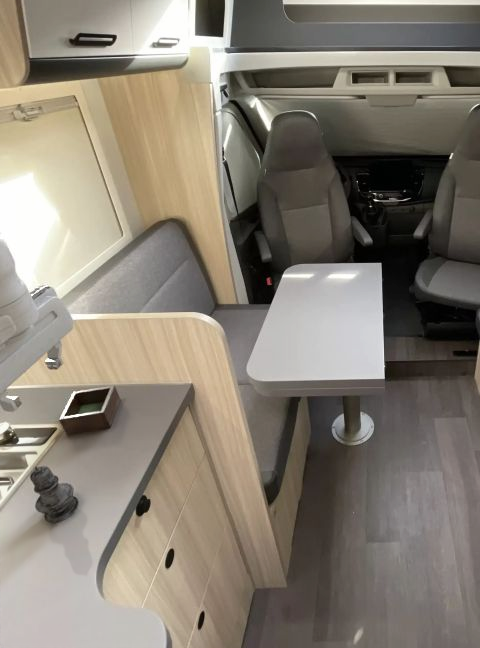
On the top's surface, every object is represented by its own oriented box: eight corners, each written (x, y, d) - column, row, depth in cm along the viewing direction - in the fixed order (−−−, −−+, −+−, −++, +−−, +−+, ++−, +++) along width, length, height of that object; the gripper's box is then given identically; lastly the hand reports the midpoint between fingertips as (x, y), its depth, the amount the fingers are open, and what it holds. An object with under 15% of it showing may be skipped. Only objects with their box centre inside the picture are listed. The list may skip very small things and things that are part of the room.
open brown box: (66, 435, 97) (58, 419, 94) (80, 406, 104) (73, 391, 102) (110, 427, 99) (103, 412, 96) (121, 400, 106) (114, 385, 104)
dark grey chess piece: (81, 513, 81) (56, 470, 75) (43, 530, 78) (14, 488, 72) (79, 489, 86) (55, 447, 79) (42, 505, 83) (15, 463, 77)
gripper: (30, 279, 73) (61, 345, 80) (-90, 358, 55) (-37, 435, 62) (67, 280, 73) (94, 346, 80) (-42, 360, 55) (6, 437, 62)
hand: (36, 386), depth 71 cm, fingers open, 8 cm apart
